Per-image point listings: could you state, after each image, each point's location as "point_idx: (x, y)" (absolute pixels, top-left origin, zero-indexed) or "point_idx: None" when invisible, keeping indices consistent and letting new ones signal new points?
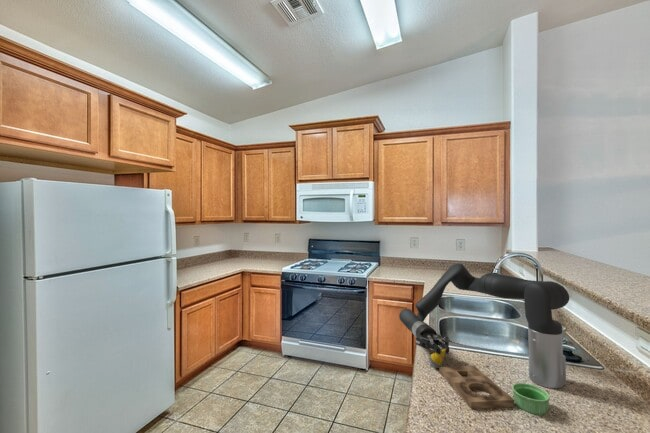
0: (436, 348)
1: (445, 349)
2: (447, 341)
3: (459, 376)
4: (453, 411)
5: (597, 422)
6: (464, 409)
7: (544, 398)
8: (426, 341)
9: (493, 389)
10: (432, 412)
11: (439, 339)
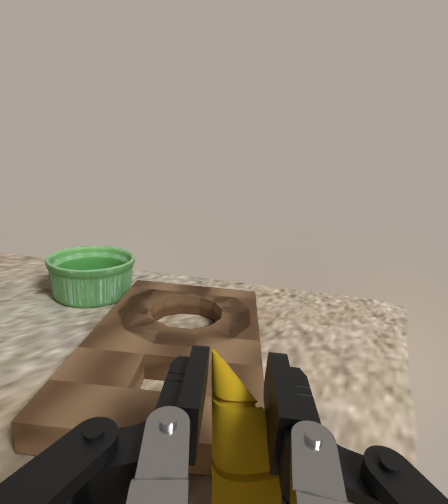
0: (298, 370)
1: (218, 359)
2: (90, 425)
3: None
4: (302, 311)
5: (29, 261)
6: (270, 310)
7: (68, 263)
8: (407, 501)
9: (147, 303)
10: (357, 317)
11: (173, 478)
